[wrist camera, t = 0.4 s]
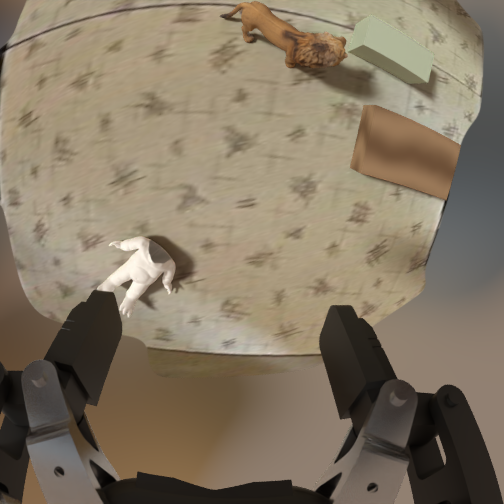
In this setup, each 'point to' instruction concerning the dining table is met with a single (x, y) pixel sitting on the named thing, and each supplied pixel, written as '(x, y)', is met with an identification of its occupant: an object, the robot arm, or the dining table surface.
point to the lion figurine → (291, 37)
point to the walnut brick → (404, 152)
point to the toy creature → (140, 270)
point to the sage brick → (391, 50)
